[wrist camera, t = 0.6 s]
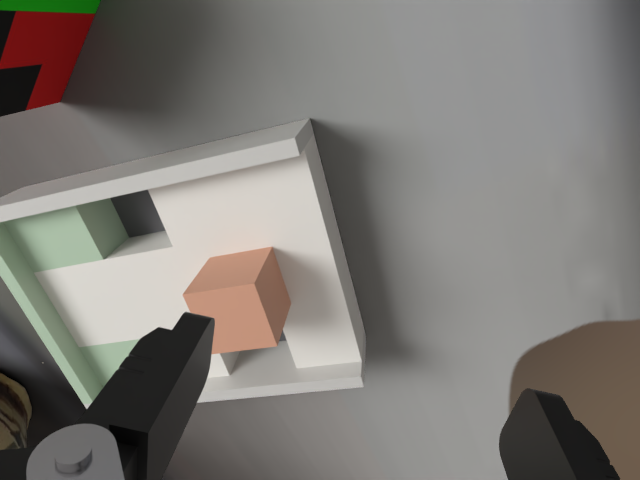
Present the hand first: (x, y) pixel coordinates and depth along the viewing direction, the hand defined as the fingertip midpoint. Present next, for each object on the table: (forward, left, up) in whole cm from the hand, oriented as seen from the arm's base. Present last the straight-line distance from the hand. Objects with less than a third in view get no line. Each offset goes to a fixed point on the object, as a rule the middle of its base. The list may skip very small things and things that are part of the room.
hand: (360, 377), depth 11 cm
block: (+9, +5, -16) cm, 19 cm away
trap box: (+15, +5, -20) cm, 25 cm away
